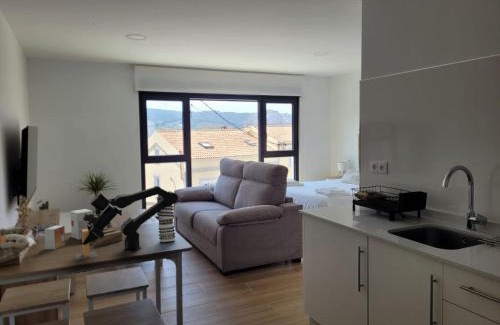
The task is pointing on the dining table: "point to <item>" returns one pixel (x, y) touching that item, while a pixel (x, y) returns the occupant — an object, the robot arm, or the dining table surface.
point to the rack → (108, 237)
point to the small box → (55, 237)
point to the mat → (81, 256)
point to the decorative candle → (166, 223)
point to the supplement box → (78, 222)
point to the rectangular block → (86, 247)
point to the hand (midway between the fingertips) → (82, 242)
